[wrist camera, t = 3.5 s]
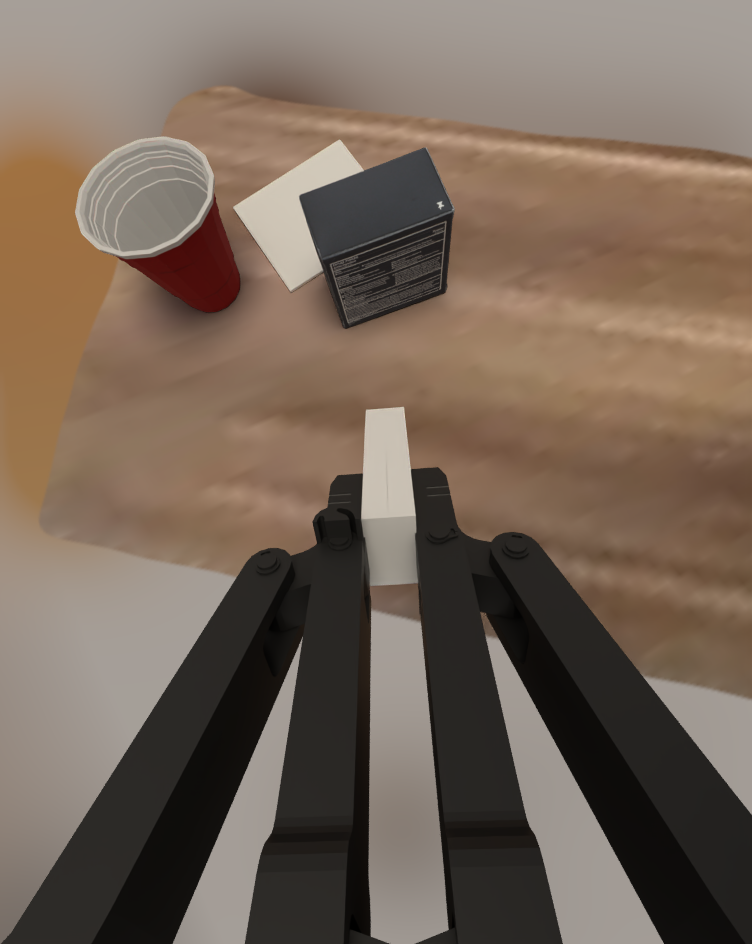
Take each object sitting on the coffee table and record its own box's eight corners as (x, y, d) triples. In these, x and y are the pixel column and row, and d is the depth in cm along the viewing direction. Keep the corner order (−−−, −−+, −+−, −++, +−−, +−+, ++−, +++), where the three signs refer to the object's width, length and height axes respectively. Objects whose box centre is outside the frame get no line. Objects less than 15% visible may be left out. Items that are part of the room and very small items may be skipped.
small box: (424, 236, 44) (428, 139, 33) (448, 293, 42) (459, 211, 32) (322, 273, 44) (295, 189, 33) (343, 331, 43) (321, 262, 32)
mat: (401, 221, 44) (401, 219, 44) (291, 292, 44) (290, 291, 43) (340, 141, 46) (339, 139, 46) (234, 209, 46) (232, 207, 45)
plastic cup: (255, 223, 45) (200, 110, 34) (274, 319, 43) (223, 234, 32) (153, 251, 46) (63, 148, 34) (168, 346, 44) (78, 272, 32)
